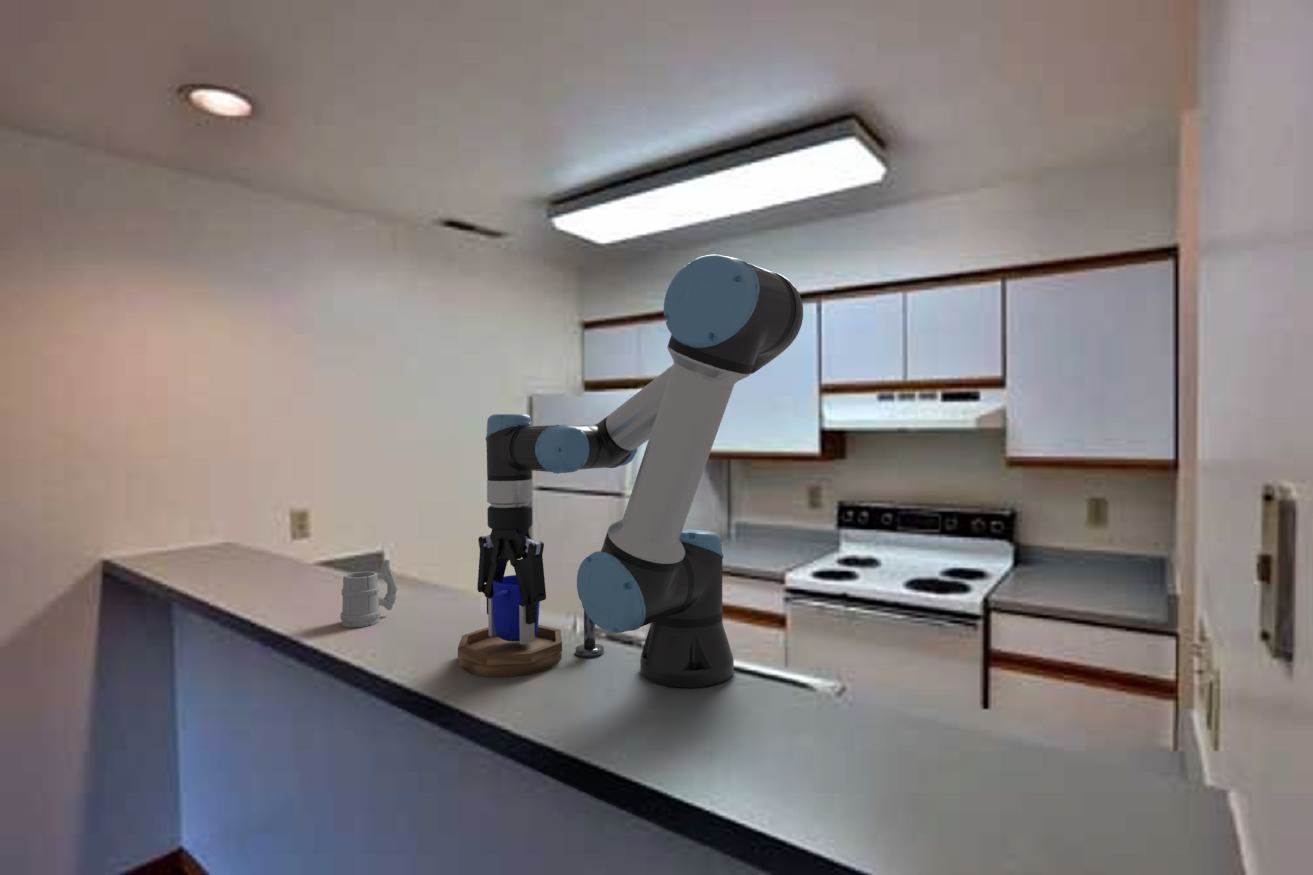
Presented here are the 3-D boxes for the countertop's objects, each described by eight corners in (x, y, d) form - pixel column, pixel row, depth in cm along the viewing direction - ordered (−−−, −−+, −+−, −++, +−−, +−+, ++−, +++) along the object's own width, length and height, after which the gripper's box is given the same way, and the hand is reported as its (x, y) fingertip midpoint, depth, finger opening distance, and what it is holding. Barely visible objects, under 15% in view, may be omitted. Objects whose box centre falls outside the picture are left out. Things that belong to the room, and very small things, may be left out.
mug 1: (332, 623, 140) (331, 565, 140) (386, 611, 149) (385, 556, 149) (352, 630, 135) (351, 569, 135) (406, 616, 145) (405, 560, 145)
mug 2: (473, 649, 113) (472, 588, 112) (506, 628, 124) (506, 573, 124) (519, 653, 111) (518, 591, 110) (549, 631, 122) (548, 575, 122)
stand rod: (609, 651, 122) (609, 603, 122) (591, 659, 118) (590, 610, 118) (588, 646, 125) (587, 600, 125) (569, 653, 121) (569, 606, 120)
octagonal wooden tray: (581, 654, 120) (581, 634, 120) (508, 684, 106) (508, 662, 106) (514, 637, 130) (513, 619, 130) (438, 663, 116) (438, 642, 116)
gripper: (568, 505, 115) (569, 642, 116) (487, 498, 126) (488, 623, 127) (535, 510, 109) (537, 655, 109) (454, 502, 120) (455, 633, 121)
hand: (511, 637), depth 118 cm, fingers closed on mug 2, 7 cm apart
